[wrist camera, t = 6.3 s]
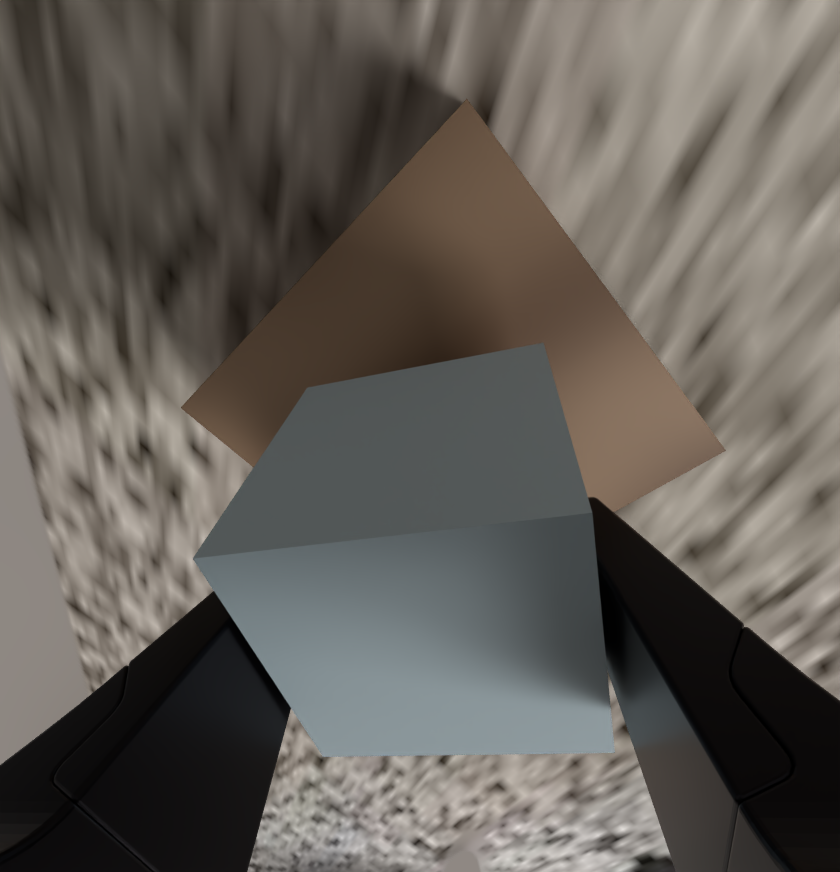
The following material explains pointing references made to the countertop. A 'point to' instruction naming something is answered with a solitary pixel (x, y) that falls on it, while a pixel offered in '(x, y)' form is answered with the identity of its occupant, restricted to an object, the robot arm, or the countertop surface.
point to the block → (424, 565)
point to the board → (464, 318)
